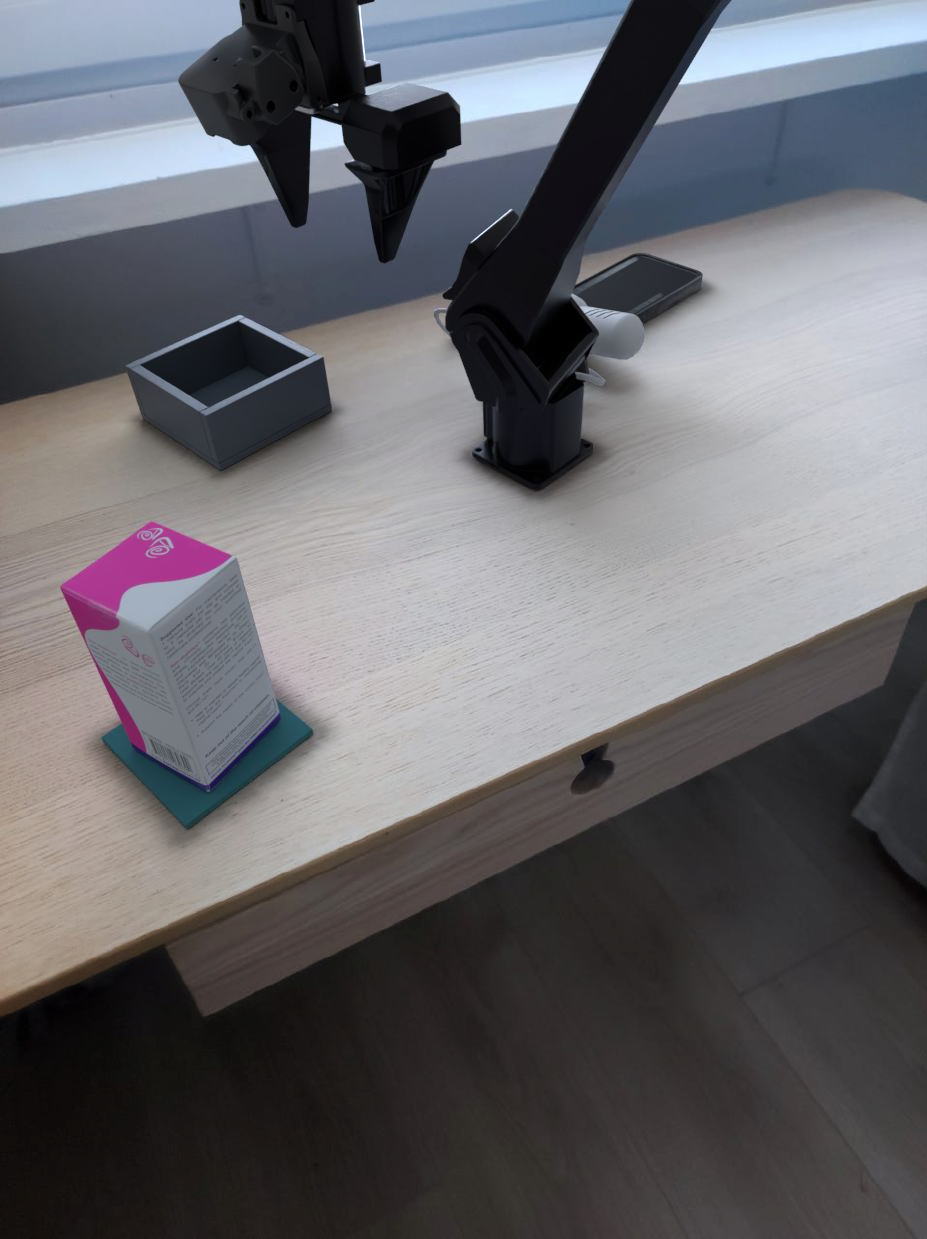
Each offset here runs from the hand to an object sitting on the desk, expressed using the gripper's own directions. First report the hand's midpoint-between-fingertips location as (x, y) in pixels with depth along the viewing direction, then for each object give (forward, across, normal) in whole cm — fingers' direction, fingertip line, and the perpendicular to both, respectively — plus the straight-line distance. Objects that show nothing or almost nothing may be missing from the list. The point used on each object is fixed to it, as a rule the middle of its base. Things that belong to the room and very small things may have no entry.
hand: (341, 243), depth 62 cm
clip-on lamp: (+13, +5, +13) cm, 19 cm away
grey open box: (+13, -7, -7) cm, 16 cm away
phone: (+13, +5, +27) cm, 30 cm away
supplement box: (+13, +18, -27) cm, 35 cm away
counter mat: (+13, +18, -27) cm, 35 cm away
